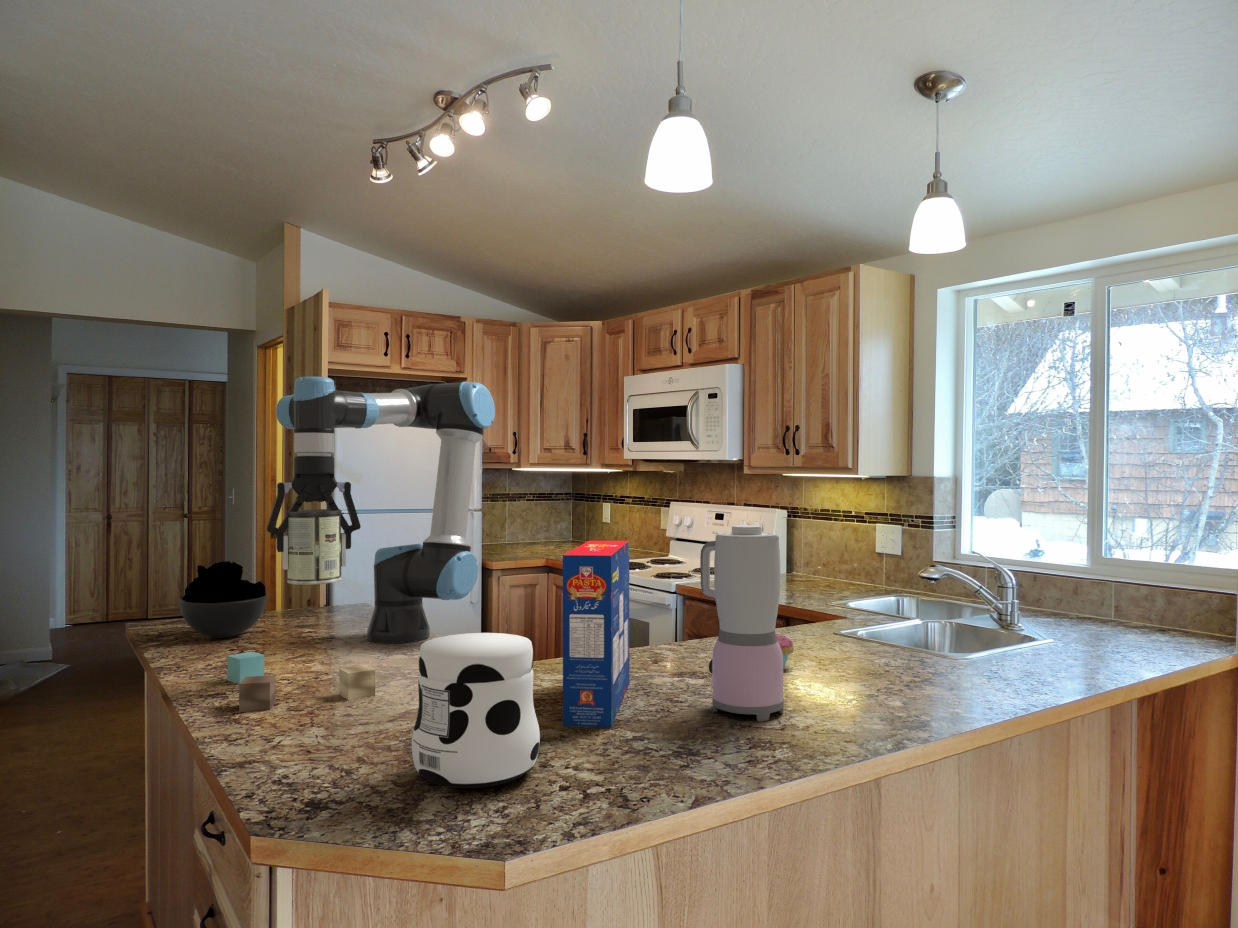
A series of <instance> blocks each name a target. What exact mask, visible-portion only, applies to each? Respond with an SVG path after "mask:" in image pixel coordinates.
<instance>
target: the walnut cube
mask: <svg viewBox="0 0 1238 928" xmlns="http://www.w3.org/2000/svg"><path fill="white" fill-rule="evenodd" d="M276 675H277V674H276ZM276 675H264V676H252V677H245V678H244V679H243V680H242V681H241V683H240V684H238V713H249V712H266V711H265V710H270V709H271V710H272V709H273V707H274V706H273V705H275V704H276V701H277V700H276V699H277V698H276V697H277V696H276V693H277V692H276V690H277V689H276V688H277V685H276V683H277V681H276V679H277V678H276ZM271 710H270V711H271Z"/></svg>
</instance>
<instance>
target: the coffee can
mask: <svg viewBox="0 0 1238 928" xmlns="http://www.w3.org/2000/svg"><path fill="white" fill-rule="evenodd" d="M341 513H342V509H339V510H336V511H331V510H330V508H327V509H326V508H325V509H324V508H321V509H320V508H319V509H317V508H316V509H315V508H314V509H313V508H312V509H299V510H298V511H297V512H289V510H287V511H286V512H285V516H286V515H288V525H289V526H288V528H287V529H286V535H287V536H288V569H286V570H287V573H286V574H287V577H286V578H287V581H286V583H287V584H290V585H301V586H303V585H304V586H306V585H326V584H333V583H337V582H340V581H342V566H341V533H342V527H341ZM342 514H343V513H342Z"/></svg>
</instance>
